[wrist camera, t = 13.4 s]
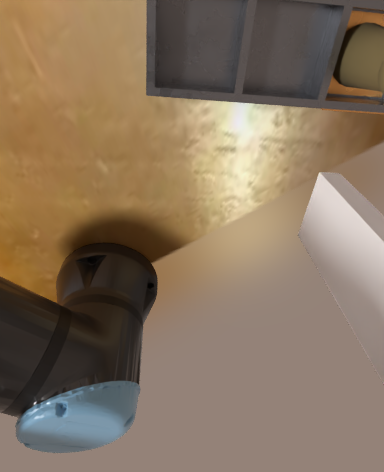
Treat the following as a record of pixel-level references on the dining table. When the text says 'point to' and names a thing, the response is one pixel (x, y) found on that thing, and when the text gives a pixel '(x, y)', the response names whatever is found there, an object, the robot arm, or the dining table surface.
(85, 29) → the dining table surface
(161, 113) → the dining table surface
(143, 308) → the robot arm
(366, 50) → the olive pawn-shaped piece
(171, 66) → the rack
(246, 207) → the dining table surface
